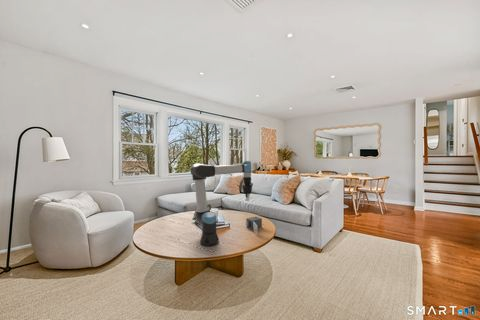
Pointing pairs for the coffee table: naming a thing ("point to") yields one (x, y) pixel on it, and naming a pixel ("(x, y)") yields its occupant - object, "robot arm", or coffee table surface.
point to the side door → (255, 228)
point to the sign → (195, 211)
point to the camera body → (256, 219)
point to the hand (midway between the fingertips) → (247, 200)
